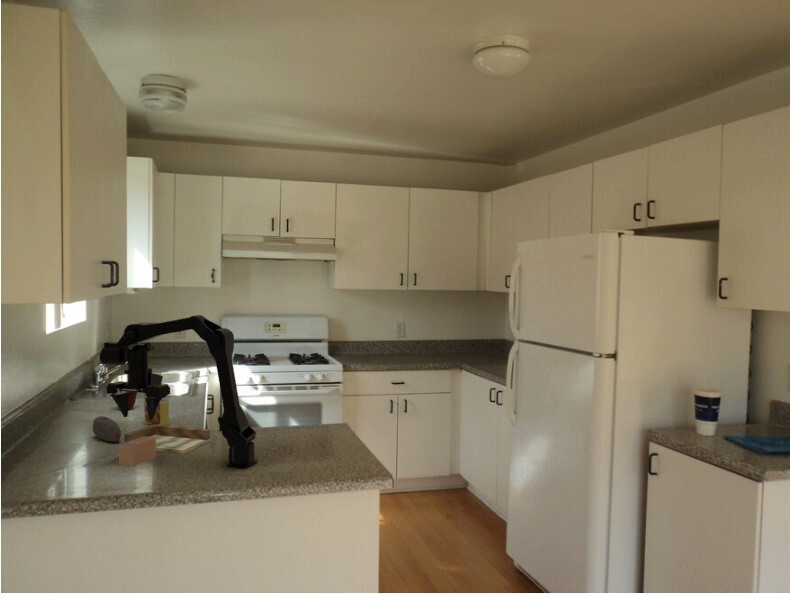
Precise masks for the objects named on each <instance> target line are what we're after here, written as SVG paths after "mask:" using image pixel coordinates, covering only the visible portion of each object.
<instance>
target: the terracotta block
mask: <svg viewBox="0 0 791 594" xmlns="http://www.w3.org/2000/svg"><path fill="white" fill-rule="evenodd" d="M156 454H157V451H156V437H146V436H143V437H140V438H137V439H134V440H132V441H129V442H125V443H124V442H123V443H120V444H118V465H119V466H125V467H129V466H133V467H135V466H137V465H139V464H138V463H140V464H141V462H142V463H144V462H146V460H147V461H149V460H152V459H154V458H156V457H157V455H156ZM151 458H152V459H151ZM136 464H137V465H136ZM134 465H135V466H134Z"/></svg>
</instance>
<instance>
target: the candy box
mask: <svg viewBox="0 0 791 594" xmlns="http://www.w3.org/2000/svg"><path fill="white" fill-rule="evenodd" d="M161 385H168V386H169V384H168V383H163V382H162V383H161ZM153 386H154V385H153ZM148 387H150V386H148ZM146 398H148V396H147V395H146V393H143V404H144V405H143V407H144V412H143V413H144V424H145V425H149V426H151V425H154V424H158V425H168V426H170V409H169V408H170V407H169V404H170V403H169V402H170V401H169V400H170V399H169V395H167V396H166V397H164V398H162V399H161V401H160V402H159V404H158V407H157V409H156V412H155V415H154V418H153V419H152V420H150V419H149V416H148V410H147V404H146Z"/></svg>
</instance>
